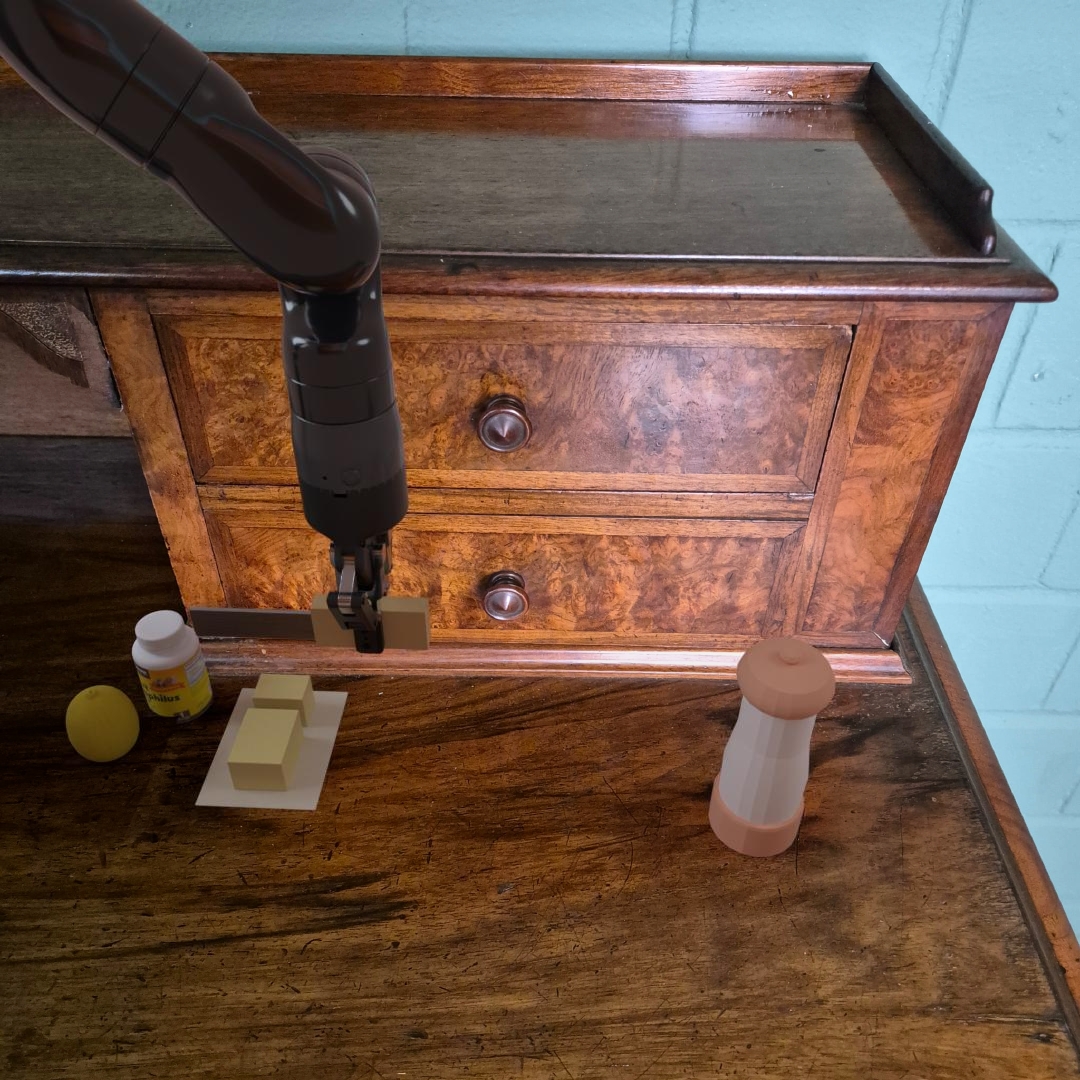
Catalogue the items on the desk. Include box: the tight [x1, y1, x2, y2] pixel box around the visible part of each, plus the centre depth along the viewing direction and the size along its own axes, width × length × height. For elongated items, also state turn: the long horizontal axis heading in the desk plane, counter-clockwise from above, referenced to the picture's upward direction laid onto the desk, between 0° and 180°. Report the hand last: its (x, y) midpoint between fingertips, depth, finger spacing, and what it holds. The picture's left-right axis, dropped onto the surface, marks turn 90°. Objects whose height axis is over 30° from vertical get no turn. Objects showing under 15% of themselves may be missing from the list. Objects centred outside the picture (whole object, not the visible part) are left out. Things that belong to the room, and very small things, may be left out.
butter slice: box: [252, 673, 315, 726], centre depth 85 cm, size 4×3×4 cm, turn 88°
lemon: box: [65, 684, 140, 763], centre depth 81 cm, size 6×6×8 cm
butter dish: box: [194, 687, 349, 811], centre depth 83 cm, size 10×13×1 cm
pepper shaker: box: [707, 636, 836, 858], centre depth 73 cm, size 7×7×19 cm
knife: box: [188, 593, 432, 651], centre depth 76 cm, size 19×2×4 cm, turn 88°
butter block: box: [227, 708, 304, 791], centre depth 81 cm, size 4×6×4 cm
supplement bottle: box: [131, 609, 214, 725], centre depth 85 cm, size 6×6×10 cm
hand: (373, 640), depth 77 cm, fingers closed on knife, 2 cm apart
